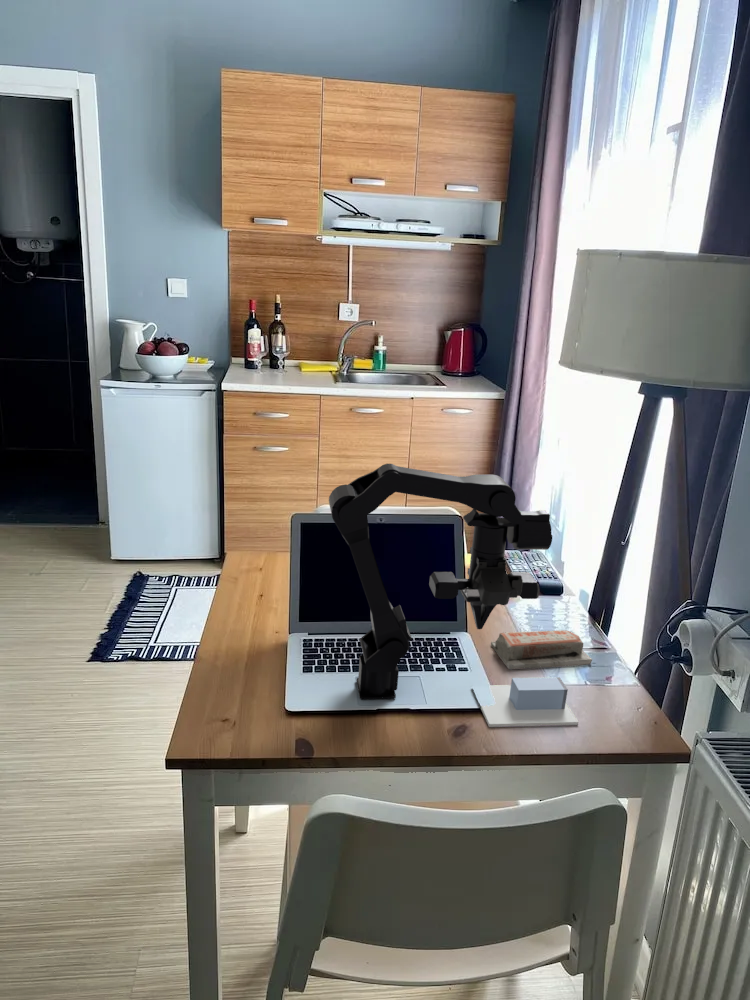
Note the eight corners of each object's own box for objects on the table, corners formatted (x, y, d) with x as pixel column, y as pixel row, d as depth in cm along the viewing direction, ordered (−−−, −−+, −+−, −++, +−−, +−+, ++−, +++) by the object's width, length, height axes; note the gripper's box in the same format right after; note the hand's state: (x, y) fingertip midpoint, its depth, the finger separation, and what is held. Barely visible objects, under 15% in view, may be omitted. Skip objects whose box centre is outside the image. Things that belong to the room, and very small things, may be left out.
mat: (488, 727, 130) (489, 724, 130) (471, 688, 142) (471, 685, 142) (577, 724, 133) (578, 721, 133) (553, 687, 144) (554, 684, 144)
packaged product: (511, 650, 147) (492, 626, 157) (508, 672, 149) (489, 647, 158) (595, 645, 152) (572, 621, 161) (592, 666, 153) (569, 642, 162)
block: (518, 690, 134) (567, 689, 135) (511, 677, 137) (559, 677, 139) (515, 709, 135) (564, 709, 136) (509, 697, 139) (556, 696, 140)
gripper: (446, 566, 124) (437, 651, 129) (556, 567, 127) (543, 650, 132) (432, 540, 134) (424, 620, 139) (534, 542, 137) (523, 620, 142)
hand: (478, 628), depth 138 cm, fingers closed
